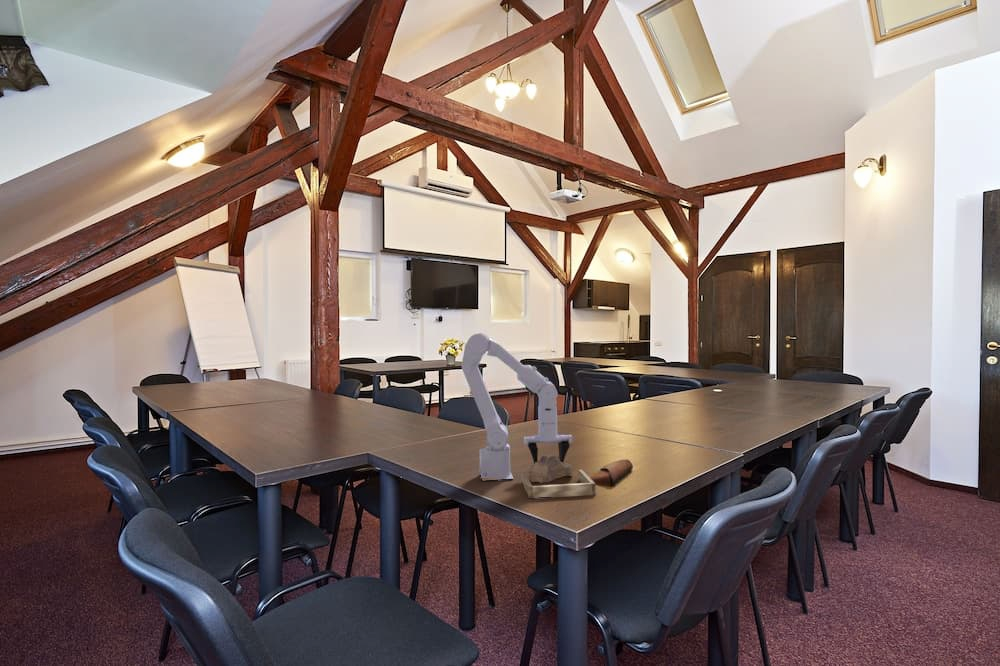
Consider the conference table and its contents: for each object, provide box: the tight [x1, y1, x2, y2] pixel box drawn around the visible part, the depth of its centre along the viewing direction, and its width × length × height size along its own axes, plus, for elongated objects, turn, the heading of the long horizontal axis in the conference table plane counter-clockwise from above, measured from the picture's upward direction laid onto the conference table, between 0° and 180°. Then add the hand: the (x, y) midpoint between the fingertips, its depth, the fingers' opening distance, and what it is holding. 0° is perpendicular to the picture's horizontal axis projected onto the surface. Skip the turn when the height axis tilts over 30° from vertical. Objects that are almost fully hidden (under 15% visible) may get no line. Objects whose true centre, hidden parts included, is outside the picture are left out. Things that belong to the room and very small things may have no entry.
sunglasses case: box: [590, 458, 634, 487], centre depth 146 cm, size 18×7×7 cm, turn 148°
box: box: [521, 469, 597, 499], centre depth 136 cm, size 18×13×3 cm
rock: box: [527, 455, 574, 485], centre depth 144 cm, size 6×14×7 cm, turn 106°
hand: (548, 466), depth 147 cm, fingers open, 7 cm apart
